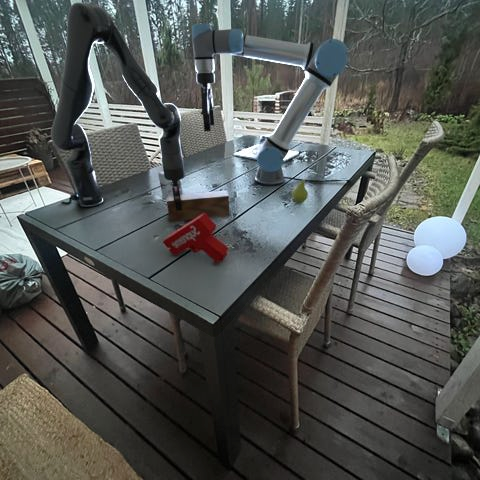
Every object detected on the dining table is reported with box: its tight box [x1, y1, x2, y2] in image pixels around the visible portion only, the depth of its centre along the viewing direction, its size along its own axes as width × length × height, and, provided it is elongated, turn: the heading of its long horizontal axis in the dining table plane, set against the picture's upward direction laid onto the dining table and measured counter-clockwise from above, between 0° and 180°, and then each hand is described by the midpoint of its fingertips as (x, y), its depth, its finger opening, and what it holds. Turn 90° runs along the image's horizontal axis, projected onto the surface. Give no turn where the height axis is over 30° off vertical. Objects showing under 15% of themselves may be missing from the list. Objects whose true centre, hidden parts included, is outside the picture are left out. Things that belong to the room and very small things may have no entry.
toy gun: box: [162, 213, 230, 264], centre depth 85 cm, size 18×4×15 cm
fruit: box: [291, 174, 311, 204], centre depth 118 cm, size 7×8×12 cm
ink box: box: [157, 170, 184, 200], centre depth 125 cm, size 8×5×12 cm, turn 135°
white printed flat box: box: [233, 143, 300, 163], centre depth 184 cm, size 27×35×5 cm
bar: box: [166, 189, 230, 222], centre depth 109 cm, size 24×6×9 cm, turn 102°
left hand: (179, 205), depth 107 cm, fingers open, 8 cm apart
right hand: (209, 128), depth 121 cm, fingers open, 13 cm apart
